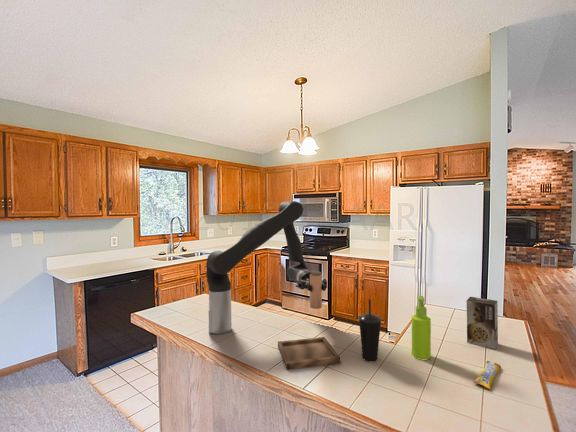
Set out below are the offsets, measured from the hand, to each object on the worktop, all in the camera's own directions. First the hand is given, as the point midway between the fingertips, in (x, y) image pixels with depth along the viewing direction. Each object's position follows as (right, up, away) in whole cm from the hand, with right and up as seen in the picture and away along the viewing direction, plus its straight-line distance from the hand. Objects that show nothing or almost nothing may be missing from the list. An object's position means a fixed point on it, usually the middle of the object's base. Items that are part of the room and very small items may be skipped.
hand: (317, 288), depth 115 cm
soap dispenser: (+34, -19, -14) cm, 42 cm away
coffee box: (+61, -19, -6) cm, 64 cm away
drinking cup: (+16, -20, -16) cm, 30 cm away
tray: (-5, -20, -13) cm, 24 cm away
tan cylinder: (-1, -8, +3) cm, 8 cm away
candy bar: (+48, -20, -28) cm, 59 cm away
